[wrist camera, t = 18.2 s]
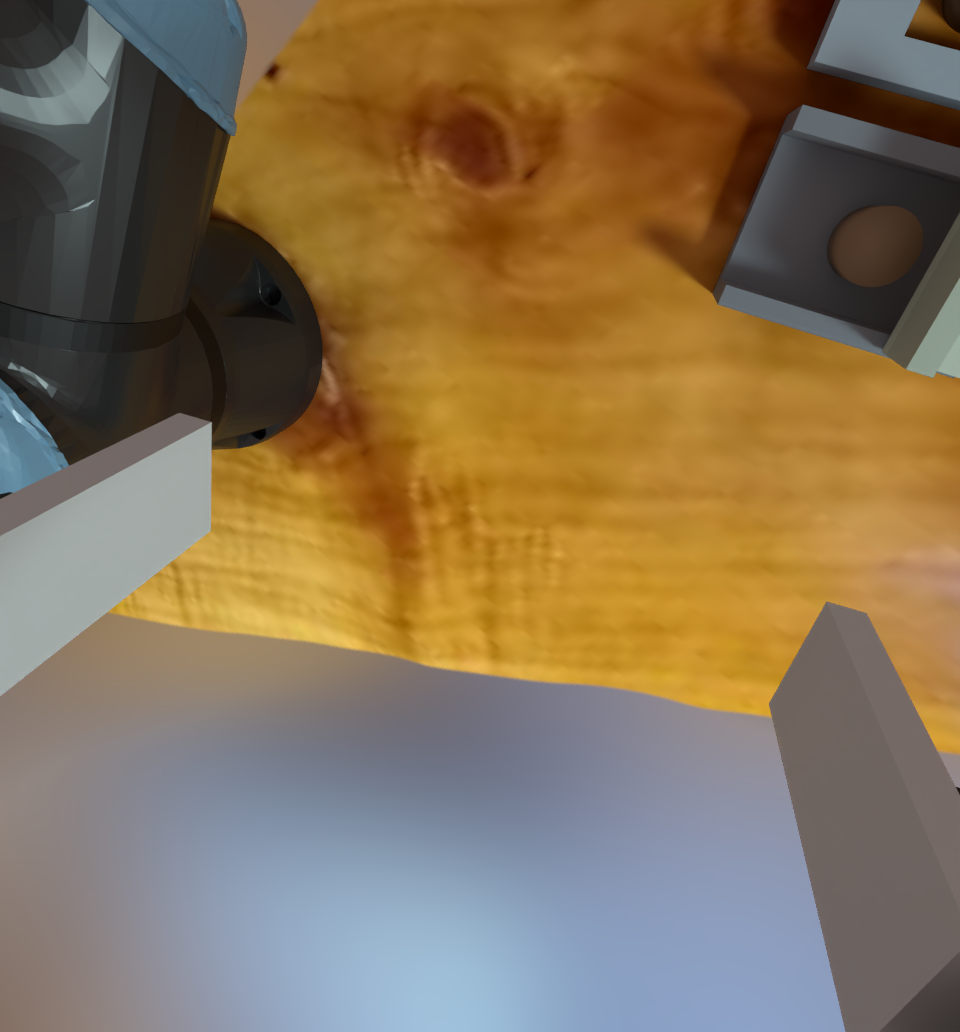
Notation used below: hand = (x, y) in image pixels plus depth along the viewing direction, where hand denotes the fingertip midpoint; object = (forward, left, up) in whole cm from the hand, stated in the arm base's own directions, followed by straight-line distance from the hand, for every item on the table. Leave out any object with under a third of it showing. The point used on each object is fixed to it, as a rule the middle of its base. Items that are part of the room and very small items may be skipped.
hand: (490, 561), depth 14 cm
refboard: (+11, +8, -30) cm, 33 cm away
